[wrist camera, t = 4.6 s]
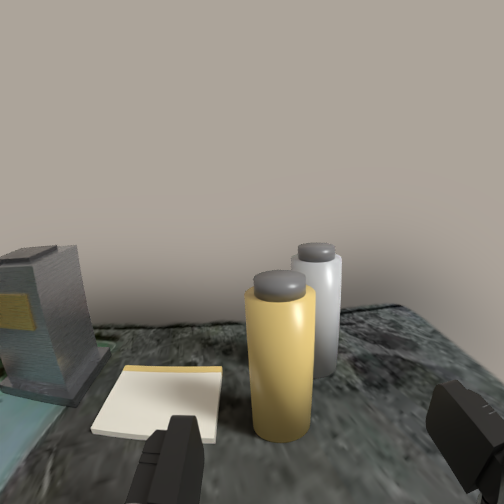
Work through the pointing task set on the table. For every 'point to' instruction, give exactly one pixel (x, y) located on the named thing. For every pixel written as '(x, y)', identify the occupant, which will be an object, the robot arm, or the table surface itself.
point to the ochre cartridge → (281, 353)
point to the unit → (47, 327)
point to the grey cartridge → (322, 300)
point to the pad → (160, 401)
